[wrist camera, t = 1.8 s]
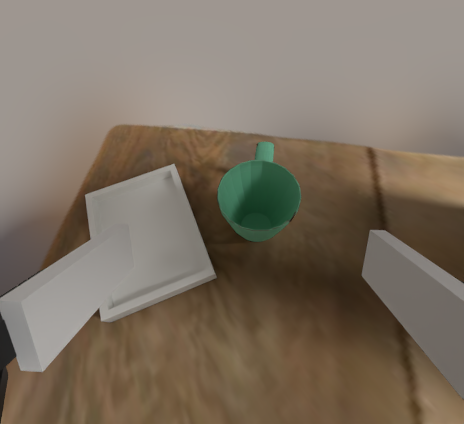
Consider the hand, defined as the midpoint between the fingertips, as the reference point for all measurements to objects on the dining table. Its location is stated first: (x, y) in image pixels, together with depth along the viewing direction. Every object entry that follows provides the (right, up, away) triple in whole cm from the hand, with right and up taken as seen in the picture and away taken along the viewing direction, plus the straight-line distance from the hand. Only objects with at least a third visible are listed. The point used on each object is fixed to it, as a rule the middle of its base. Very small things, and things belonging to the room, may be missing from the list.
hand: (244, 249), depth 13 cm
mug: (+3, +2, +25) cm, 25 cm away
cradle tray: (-14, -2, +24) cm, 27 cm away
